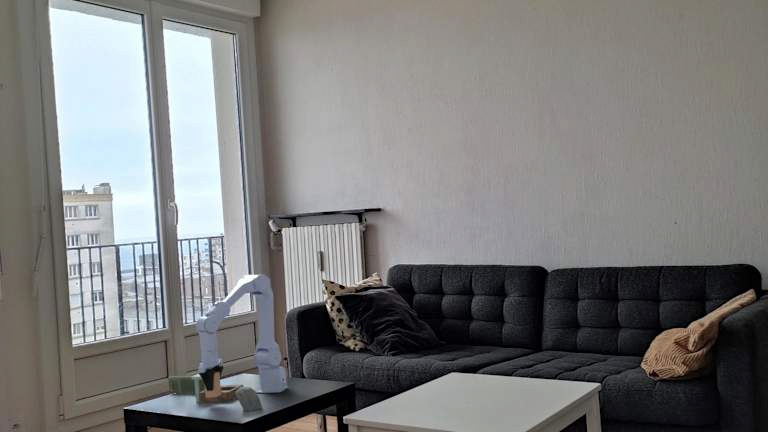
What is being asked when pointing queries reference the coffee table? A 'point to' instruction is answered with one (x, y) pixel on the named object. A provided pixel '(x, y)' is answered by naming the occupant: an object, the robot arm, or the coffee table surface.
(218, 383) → the tan peg
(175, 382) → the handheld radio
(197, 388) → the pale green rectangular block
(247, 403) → the mineral specimen
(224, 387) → the socket plate
